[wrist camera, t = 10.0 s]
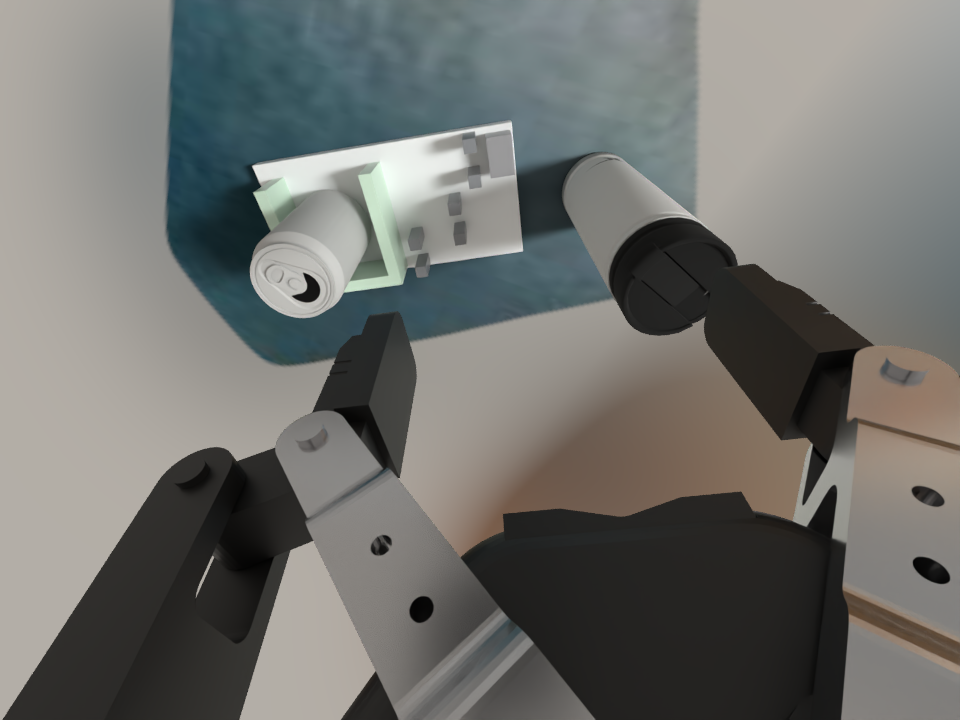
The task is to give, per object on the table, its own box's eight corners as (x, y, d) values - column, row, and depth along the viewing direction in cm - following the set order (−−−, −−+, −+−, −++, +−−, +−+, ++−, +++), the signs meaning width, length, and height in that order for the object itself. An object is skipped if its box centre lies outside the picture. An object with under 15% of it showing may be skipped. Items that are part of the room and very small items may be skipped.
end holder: (272, 179, 36) (253, 192, 33) (379, 161, 35) (370, 173, 32) (314, 278, 42) (301, 298, 39) (408, 265, 41) (402, 284, 38)
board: (257, 162, 36) (235, 174, 33) (510, 119, 35) (514, 128, 31) (307, 277, 43) (293, 297, 40) (521, 246, 41) (526, 264, 38)
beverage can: (355, 268, 41) (319, 337, 32) (291, 232, 39) (231, 294, 29) (385, 214, 38) (355, 273, 28) (317, 171, 36) (260, 219, 26)
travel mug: (595, 132, 35) (695, 207, 19) (645, 182, 38) (770, 286, 22) (544, 193, 38) (594, 302, 22) (594, 236, 41) (671, 362, 25)
